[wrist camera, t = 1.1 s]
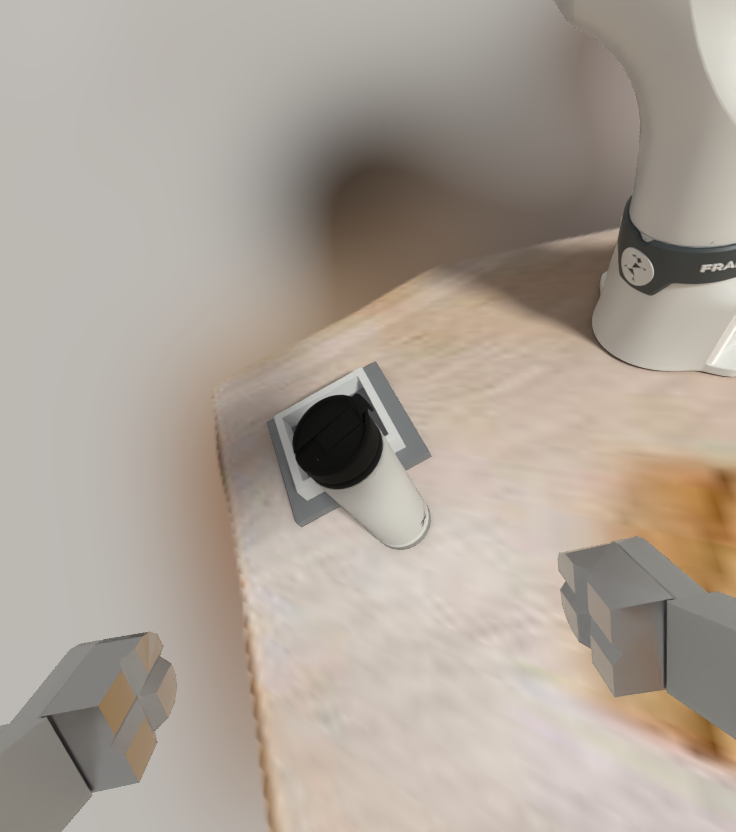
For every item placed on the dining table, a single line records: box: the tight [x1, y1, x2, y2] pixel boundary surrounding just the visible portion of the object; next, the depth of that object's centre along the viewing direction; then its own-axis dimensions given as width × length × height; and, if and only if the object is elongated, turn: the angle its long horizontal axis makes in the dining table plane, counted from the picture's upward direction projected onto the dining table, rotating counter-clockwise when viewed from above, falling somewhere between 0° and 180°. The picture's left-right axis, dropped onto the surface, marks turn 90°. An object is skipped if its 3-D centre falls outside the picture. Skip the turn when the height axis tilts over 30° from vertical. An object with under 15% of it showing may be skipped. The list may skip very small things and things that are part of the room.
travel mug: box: [292, 393, 431, 550], centre depth 36 cm, size 6×7×20 cm
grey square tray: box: [267, 362, 432, 527], centre depth 51 cm, size 17×16×4 cm
